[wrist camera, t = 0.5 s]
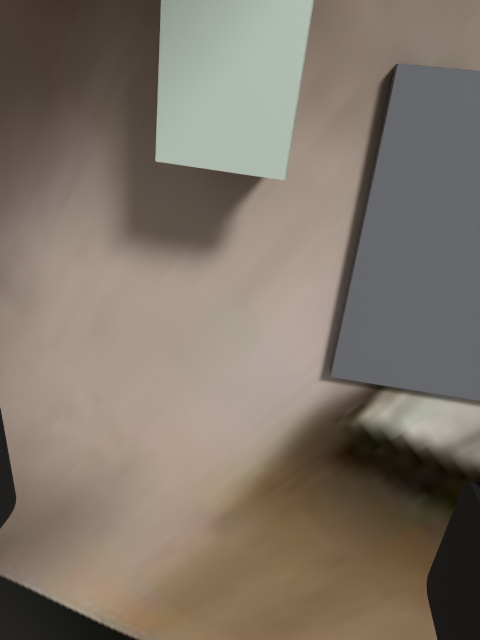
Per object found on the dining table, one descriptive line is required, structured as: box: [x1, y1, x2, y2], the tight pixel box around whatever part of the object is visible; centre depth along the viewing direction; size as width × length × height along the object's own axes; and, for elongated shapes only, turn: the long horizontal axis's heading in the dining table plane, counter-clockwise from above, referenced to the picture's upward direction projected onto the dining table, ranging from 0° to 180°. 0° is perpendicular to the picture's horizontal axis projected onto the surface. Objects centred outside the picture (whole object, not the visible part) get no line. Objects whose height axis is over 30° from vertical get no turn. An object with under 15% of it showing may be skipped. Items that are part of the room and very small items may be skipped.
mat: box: [330, 64, 480, 401], centre depth 31 cm, size 22×16×1 cm
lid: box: [155, 0, 314, 180], centre depth 23 cm, size 13×7×3 cm, turn 173°
